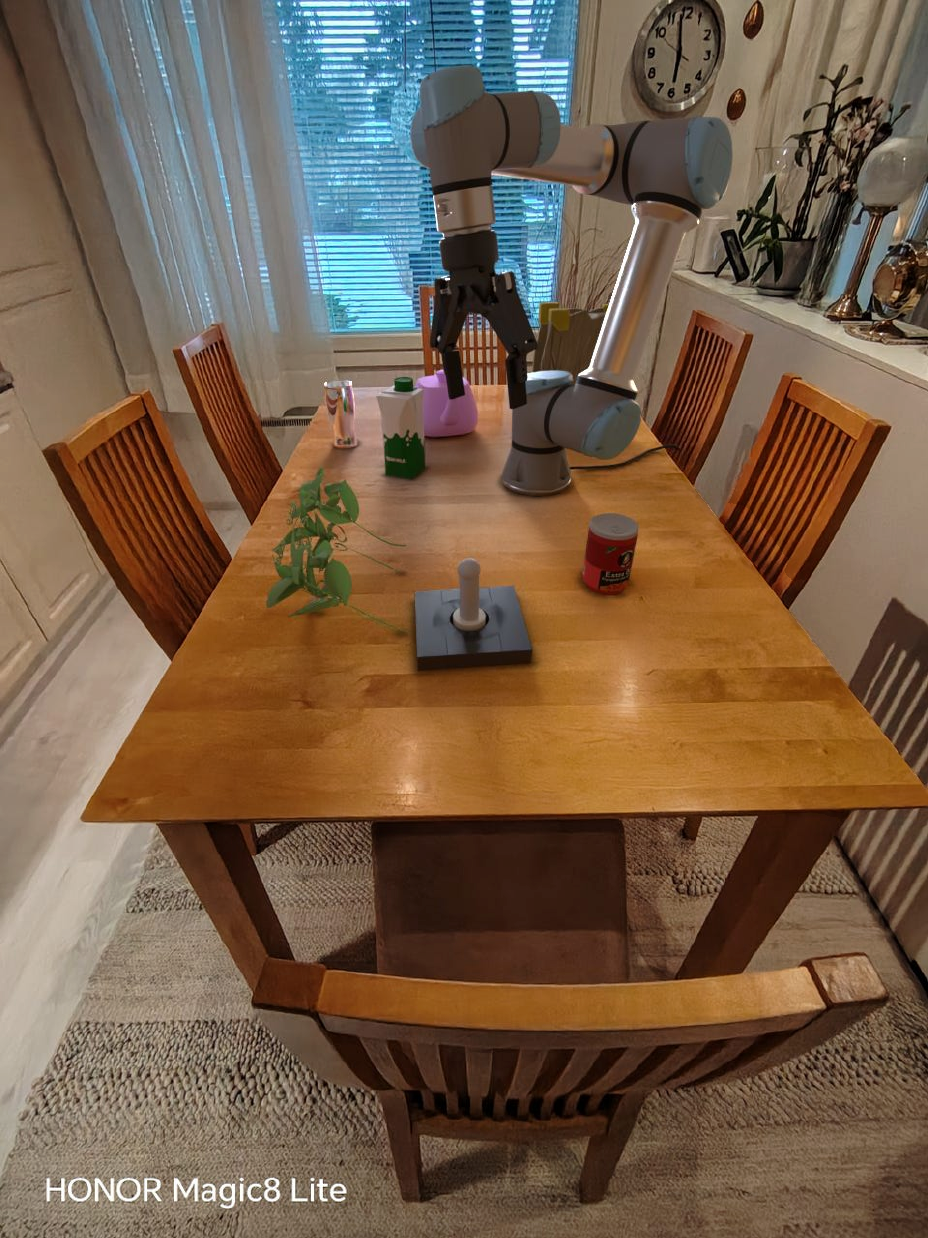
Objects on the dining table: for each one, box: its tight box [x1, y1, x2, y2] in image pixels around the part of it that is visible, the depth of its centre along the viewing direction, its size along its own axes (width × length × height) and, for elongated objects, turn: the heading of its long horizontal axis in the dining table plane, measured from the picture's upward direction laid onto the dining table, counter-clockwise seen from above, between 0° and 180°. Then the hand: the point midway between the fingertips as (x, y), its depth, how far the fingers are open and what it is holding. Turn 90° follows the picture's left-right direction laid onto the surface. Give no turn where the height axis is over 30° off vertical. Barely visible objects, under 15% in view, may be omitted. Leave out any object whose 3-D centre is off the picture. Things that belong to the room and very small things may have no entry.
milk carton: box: [375, 376, 426, 480], centre depth 131 cm, size 9×9×20 cm
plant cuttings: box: [265, 466, 410, 634], centre depth 90 cm, size 35×17×22 cm
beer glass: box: [323, 379, 359, 449], centre depth 146 cm, size 7×7×15 cm
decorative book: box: [531, 301, 610, 385], centre depth 149 cm, size 20×11×30 cm, turn 98°
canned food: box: [581, 512, 640, 595], centre depth 96 cm, size 8×8×11 cm
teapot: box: [413, 369, 479, 438], centre depth 151 cm, size 23×21×15 cm
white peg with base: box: [453, 557, 486, 631], centre depth 85 cm, size 5×5×13 cm
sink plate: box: [413, 585, 533, 671], centre depth 88 cm, size 16×16×2 cm
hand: (486, 401), depth 87 cm, fingers open, 13 cm apart
